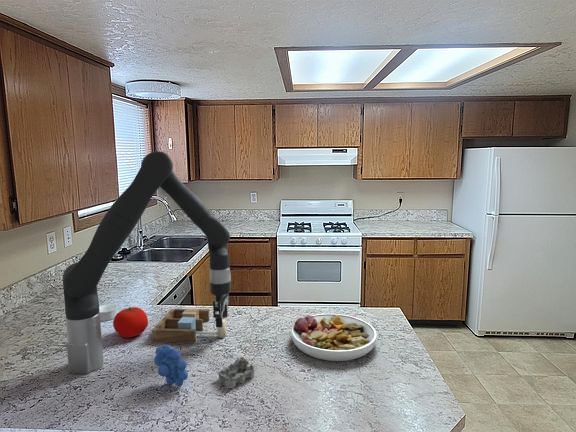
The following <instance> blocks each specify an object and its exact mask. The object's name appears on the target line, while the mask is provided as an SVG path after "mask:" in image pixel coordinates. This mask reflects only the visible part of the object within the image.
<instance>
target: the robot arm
mask: <svg viewBox="0 0 576 432" xmlns="http://www.w3.org/2000/svg"><path fill="white" fill-rule="evenodd" d="M173 166H174V163H173V161H172V158H171V156H170V155H169V154H167V153H166V152H164V151H160V150H155V151H151V152H149V153H148V154H145V156H144V157H143V158H142V161H141V163H140V168H139V170H138V172H137V173H136V176H135V177H134V178H133V181H131V183H130V185H129V186H128V187H127V188H126V189H125V190H124V191H123V192H122V193H121V194H120V196H119V197H117V199H116V200H115V201H114V202H113V203H112V205H110V207H109V208H108V210H107V211H106V213H105V214H104V216H103V218H102V219H101V221H100V222H99V224H98V226H97V228H96V230H95V232H94V235H93V237H92V239H91V242H90V244H89V245H88V248H87V250H86V251H85V253H84V254H83V256H82V257H81V258H80V260H79V261H78V262H77V261H76V262H74V263H72V264H70V265H68V266H67V267H66V269H65V270H64V271H63V274H62V286H63V287H62V290H63V297H64V312H65V320H66V332H67V342H68V343H67V344H66V350H67V360H68V361H67V362H68V371H69V372H68V373H69V374H80V375H81V374H84V375H88V374H89V375H90V373H91V372H94V371H96V370H98V369H99V368H101V367H102V366H103V365H104V352H103V350H104V349H103V341H102V329H101V326H102V325H101V321H100V312H99V306H100V303H99V296H98V295H99V294H98V284H99V283H100V280H101V278H102V277H103V275H104V272H105V271H106V270H107V267H108V265H109V264H110V262H111V260H112V259H113V258H114V256H116V254H117V253H118V251H119V250H120V249H121V247H122V246H123V244H124V243H125V241H126V240H127V239H128V237H129V236H130V234H131V233H132V232H133V231H134V228H135V227H136V226H137V224H138V222H139V221H140V219H141V218H142V216H143V215H144V212H145V211H146V209H147V206H148V205H149V203H150V201H151V199H152V198H153V196H154V194H156V192H157V191H158V189H159V188H161V189H162V190H163V191H164V192H165V193H166V194H167V195H168V196H169V197H170V198H171V199H172V200H173V201H174V203H176V205H177V206H178V207H179V208H180V209H181V211H182V212H183V213H184V214H185V215H186V217H188V218H189V220H190V221H191V222H192V223H193V224H194V225H195V226H196V227H198V228H199V229H200V230H201V232H202V233H203V234H204V235H205V236H206V238H207V239H206V240H207V246H208V252H209V290H210V294H211V295H214V296H215V297H214V301H213V302H212V309H213V311H212V312H213V314H212V317H213V318H214V319H215V327H216V328H217V327H222V326H223V325H222V319H225V318H226V319H227V318H228V316H229V315H228V312H229V311H228V307H229V304H230V299H229V293H231V292H232V277H231V276H232V275H231V268H230V256H229V255H230V254H229V252H228V249H227V245H228V243H229V242H230V239H231V235H230V232H229V230H228V229H227V227H226V226H224V224H223V223H221V222H220V221H219V220H218V218H216V217H215V215H214V214H213V213H212V211H211V209H209V208H208V207H207V205H206V204H205V203H204V202H203V201H202V200H201V199H200V198H199V196H197V195H196V194H195V193H194V192H193V191H191V190H190V189H189V188H188V187H187V186H186V185H185V184H184V183H183V181H182V180H180V178H179V177H178V176H177V175H176V173H175V171H174V170H173V168H174V167H173Z"/></svg>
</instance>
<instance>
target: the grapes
mask: <svg viewBox="0 0 576 432" xmlns="http://www.w3.org/2000/svg"><path fill="white" fill-rule="evenodd" d="M153 362H154V365H156V366H157V367H158V369H157V373H158V375H159V377H162V378H165V382H166V383H167V384H168V385H173V384H174V385H176V386H177V387H180V386H182V385H183V384H184V381H185V380H187V379H188V378H189V377H188V376H189V373H188V371H187V370H186V369H187V366H188V363H187V361H186V360H185V359H183V358H181V352H180V351H179V350H178V349H175V348H173V349H172V346H171V345H169V344H167V343H165V344H163V346H159V347H157V348H155V357H154V359H153Z"/></svg>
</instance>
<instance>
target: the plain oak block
mask: <svg viewBox="0 0 576 432" xmlns="http://www.w3.org/2000/svg"><path fill="white" fill-rule="evenodd" d="M184 309H185V311H184V312H183V313H182V317H195V319H199V309H200V308H184Z"/></svg>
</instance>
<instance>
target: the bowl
mask: <svg viewBox="0 0 576 432" xmlns="http://www.w3.org/2000/svg"><path fill="white" fill-rule="evenodd" d="M290 331H291V334H290V335H291V339H292V342H293V343H294V346H296V348H298V349H299V350H300V351H301V352H303V353H304V354H306V355H308V356H310V357H312V358H315V359H319V360H324V361H329V362H344V361H353V360H355V359H359V358H362V357H363V356H366V355H367V354H369V353H370V352H371V351H372V350H373V349H374V347H375V345H376V343H377V330H376V328H374V326H373V325H372V324H370V323H368V322H367V321H366V320H362V319H360V318H358V317H355V316H351V315H347V314H339V313H318V314H312V315H306V316H304V317H299V318H298V319H297V320H296V321H295V322H294V323H293V325H292V327H291V330H290Z"/></svg>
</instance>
